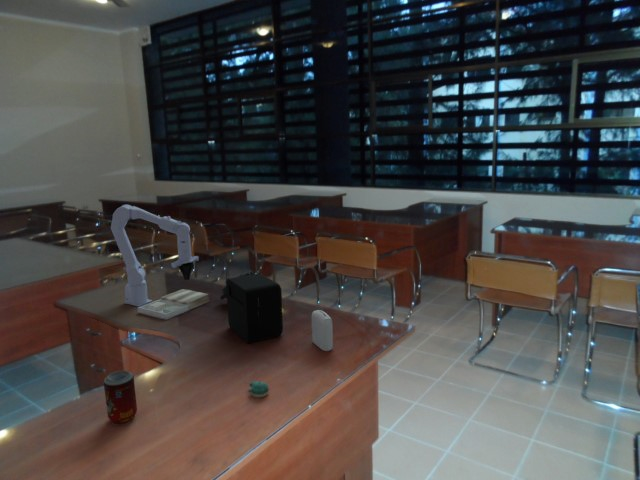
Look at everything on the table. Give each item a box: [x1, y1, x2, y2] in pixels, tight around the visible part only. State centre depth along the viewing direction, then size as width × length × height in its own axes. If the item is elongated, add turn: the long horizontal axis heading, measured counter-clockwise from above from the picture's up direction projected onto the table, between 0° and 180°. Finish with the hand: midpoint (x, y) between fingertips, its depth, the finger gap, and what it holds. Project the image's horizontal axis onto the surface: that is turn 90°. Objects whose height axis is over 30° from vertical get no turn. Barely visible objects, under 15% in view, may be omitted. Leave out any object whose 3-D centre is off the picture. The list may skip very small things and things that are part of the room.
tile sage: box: [163, 305, 181, 313], centre depth 195 cm, size 5×5×2 cm
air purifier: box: [225, 272, 284, 344], centre depth 174 cm, size 20×15×20 cm
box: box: [137, 298, 190, 321], centre depth 198 cm, size 17×12×2 cm
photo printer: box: [311, 309, 334, 352], centre depth 161 cm, size 10×4×12 cm, turn 26°
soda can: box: [103, 370, 138, 426], centre depth 120 cm, size 7×7×12 cm
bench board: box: [160, 288, 210, 311], centre depth 208 cm, size 16×13×4 cm
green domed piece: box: [248, 381, 270, 398], centre depth 132 cm, size 6×7×4 cm
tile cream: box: [149, 302, 167, 311], centre depth 200 cm, size 5×5×2 cm
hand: (186, 279), depth 212 cm, fingers closed
